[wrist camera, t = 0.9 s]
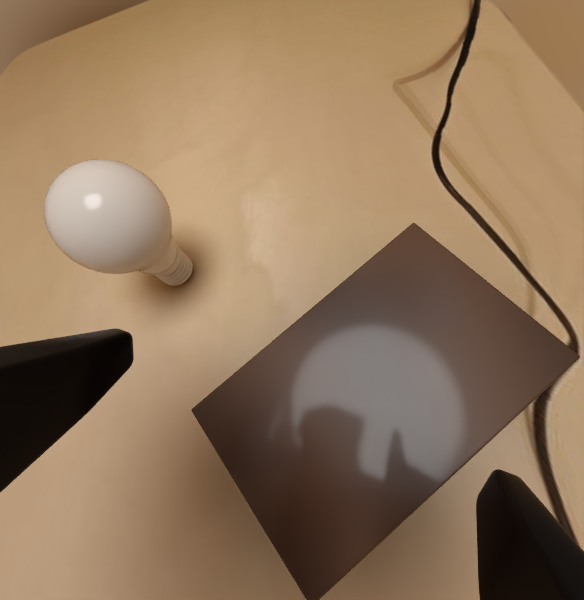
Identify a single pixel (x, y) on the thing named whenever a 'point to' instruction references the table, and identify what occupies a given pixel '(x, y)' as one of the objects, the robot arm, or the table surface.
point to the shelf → (375, 403)
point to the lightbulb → (114, 221)
